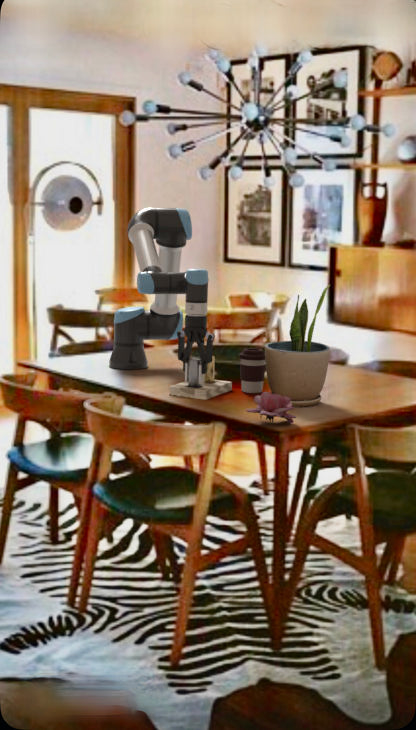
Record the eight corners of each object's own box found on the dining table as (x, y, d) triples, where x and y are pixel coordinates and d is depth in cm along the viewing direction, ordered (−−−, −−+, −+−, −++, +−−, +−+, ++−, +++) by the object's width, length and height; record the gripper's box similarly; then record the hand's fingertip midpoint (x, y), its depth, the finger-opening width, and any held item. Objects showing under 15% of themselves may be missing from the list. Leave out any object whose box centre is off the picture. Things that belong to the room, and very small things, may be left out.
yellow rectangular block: (204, 388, 359) (205, 355, 357) (215, 389, 357) (216, 356, 355) (199, 390, 355) (199, 356, 353) (210, 391, 353) (211, 358, 351)
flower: (276, 422, 296) (279, 388, 297) (237, 420, 306) (241, 388, 307) (305, 429, 307) (309, 397, 308) (268, 427, 317) (271, 396, 318)
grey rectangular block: (185, 394, 346) (186, 359, 344) (191, 392, 350) (192, 357, 348) (196, 395, 344) (197, 360, 342) (202, 393, 348) (203, 359, 346)
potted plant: (281, 411, 325) (286, 287, 319) (252, 398, 345) (256, 280, 338) (338, 407, 334) (344, 286, 327) (306, 394, 353) (311, 280, 346)
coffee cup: (233, 389, 359) (234, 347, 356) (258, 388, 362) (259, 346, 360) (245, 395, 350) (246, 352, 347) (270, 393, 354) (272, 351, 351)
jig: (196, 385, 364) (196, 377, 363) (231, 390, 357) (231, 381, 357) (169, 394, 346) (169, 386, 346) (205, 399, 340) (205, 390, 339)
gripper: (167, 313, 343) (166, 381, 347) (214, 317, 335) (212, 386, 339) (178, 311, 350) (177, 377, 354) (224, 315, 342) (222, 383, 346)
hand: (194, 382), depth 347 cm, fingers open, 5 cm apart
